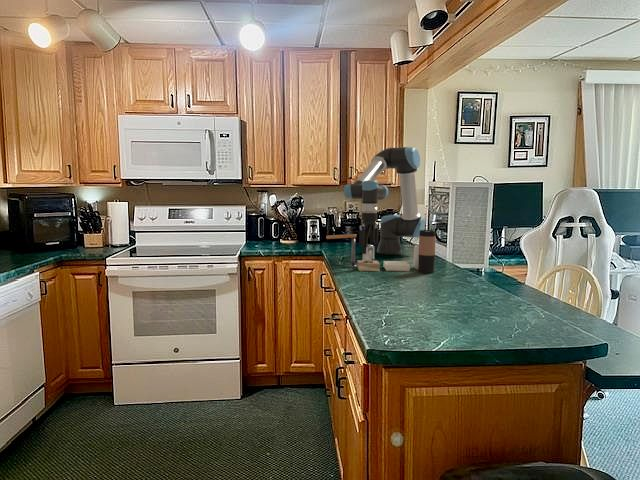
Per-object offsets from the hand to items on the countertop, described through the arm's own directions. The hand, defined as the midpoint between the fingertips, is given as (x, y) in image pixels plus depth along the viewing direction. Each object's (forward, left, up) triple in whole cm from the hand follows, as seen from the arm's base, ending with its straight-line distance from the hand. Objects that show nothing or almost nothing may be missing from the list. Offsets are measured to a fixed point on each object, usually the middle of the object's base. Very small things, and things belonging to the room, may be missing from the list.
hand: (368, 259), depth 233 cm
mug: (-5, +29, -5) cm, 30 cm away
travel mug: (+7, +27, -5) cm, 28 cm away
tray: (-1, +14, -5) cm, 15 cm away
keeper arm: (-3, -13, +10) cm, 17 cm away
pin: (0, 0, -5) cm, 5 cm away
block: (0, 0, -5) cm, 5 cm away
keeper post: (-7, -7, -5) cm, 11 cm away
